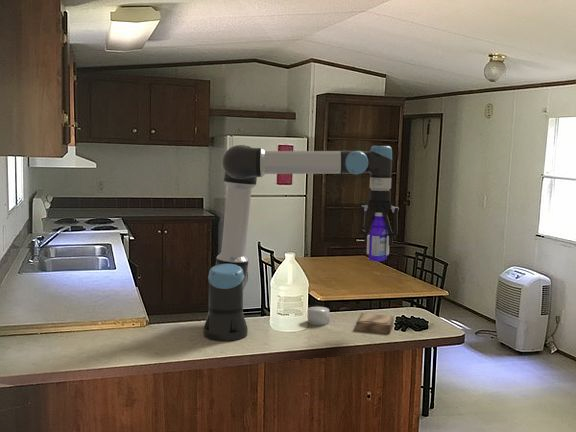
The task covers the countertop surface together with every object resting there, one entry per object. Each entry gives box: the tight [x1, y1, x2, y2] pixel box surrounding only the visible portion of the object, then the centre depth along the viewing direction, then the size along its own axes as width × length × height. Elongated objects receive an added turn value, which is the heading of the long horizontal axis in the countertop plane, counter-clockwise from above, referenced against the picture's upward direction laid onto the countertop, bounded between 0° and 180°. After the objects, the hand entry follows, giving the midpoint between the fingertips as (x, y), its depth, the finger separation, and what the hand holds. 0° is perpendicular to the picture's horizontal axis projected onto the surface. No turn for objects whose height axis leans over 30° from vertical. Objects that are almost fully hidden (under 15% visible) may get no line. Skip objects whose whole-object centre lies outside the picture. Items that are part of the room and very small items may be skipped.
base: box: [355, 312, 395, 334], centre depth 219 cm, size 12×12×3 cm
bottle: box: [368, 212, 389, 262], centre depth 215 cm, size 7×6×17 cm
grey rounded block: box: [307, 306, 330, 326], centre depth 223 cm, size 8×8×5 cm
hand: (377, 253), depth 216 cm, fingers closed on bottle, 6 cm apart
